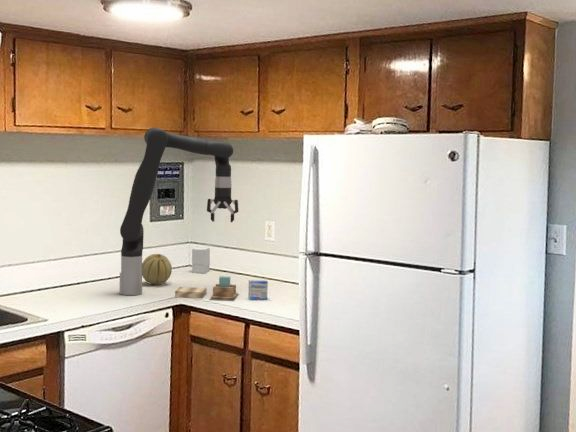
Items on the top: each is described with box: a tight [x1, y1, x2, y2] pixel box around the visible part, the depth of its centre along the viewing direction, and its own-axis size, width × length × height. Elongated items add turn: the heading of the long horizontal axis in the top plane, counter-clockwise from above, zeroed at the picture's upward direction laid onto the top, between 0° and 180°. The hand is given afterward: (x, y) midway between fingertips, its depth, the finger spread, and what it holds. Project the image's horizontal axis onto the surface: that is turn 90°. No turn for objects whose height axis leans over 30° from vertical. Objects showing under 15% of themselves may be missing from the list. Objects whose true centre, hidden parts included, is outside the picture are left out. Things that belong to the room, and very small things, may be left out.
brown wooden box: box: [210, 283, 239, 300], centre depth 337 cm, size 10×12×5 cm
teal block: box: [218, 275, 231, 287], centre depth 337 cm, size 4×3×8 cm, turn 86°
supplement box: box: [191, 246, 211, 274], centre depth 400 cm, size 7×7×13 cm
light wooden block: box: [174, 286, 208, 299], centre depth 338 cm, size 12×10×3 cm
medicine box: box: [248, 279, 269, 301], centre depth 335 cm, size 8×4×9 cm, turn 101°
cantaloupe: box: [142, 253, 173, 286], centre depth 363 cm, size 15×15×15 cm
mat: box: [208, 293, 240, 302], centre depth 337 cm, size 11×16×1 cm
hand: (222, 221), depth 349 cm, fingers open, 8 cm apart
